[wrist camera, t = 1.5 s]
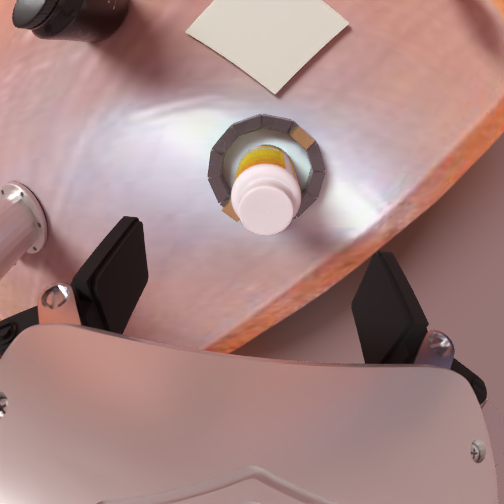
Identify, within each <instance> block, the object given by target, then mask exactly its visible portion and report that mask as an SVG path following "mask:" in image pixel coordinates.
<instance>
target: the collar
mask: <svg viewBox="0 0 504 504" xmlns="http://www.w3.org/2000/svg"><path fill="white" fill-rule="evenodd" d="M260 128H267V129H272V130H277V131H282V132H287V133H289V134H290V136H291V137H292V138H293V139H294V140H296V141H297V142H298V143H299V144H300V145H301V146H302V147H303V148H305V149H306V152H307V156H308V159H309V162H310V165H311V169H310V173H309V177H308V181H307V184H306V188H305V189H304V190H303V191H302V192H301V203H300V207H299V210H298V212H297V213H296V215H295V216H294V217H293V218H292V219H295V218H296V216H297V217H299V216H300V215H301V214H302V213H303V212H304V211H305V210H306V209H307V208H308V207H309V206H310V205H311V204H312V203H313V202H314V201H315V200H317V199H316V197H318V195H319V192H320V189H321V185H322V182H323V178H324V175H325V171H324V170H325V168H324V164H323V161H322V157H321V154H320V150H319V147H318V144H317V143H316V141H315V140H314V139H313V138H312V137H311V136H310V135H309V134H308V133H307V132H306V131H305V130H303V129H302V128H301V127H300V126H299V125H298V124H297V123H296V122H294V121H292V120H291V119H287V118H282V117H277V116H272V115H267V114H263V116H262V117H261V114H259V115H256V116H253V117H250V118H247V119H244V120H241V121H238V122H236V123H233V125H231V126H230V127H229V128H228V129H227V131H226V132H225V133H224V134H223V135H222V137H221V138H220V139H219V140H218V142H217V143H216V144H215V145H214V147H213V148H212V150H211V153H210V161H209V169H208V177H209V178H208V181H209V183H210V185H211V187H212V189H213V192H214V194H215V196H216V198H217V200H218V203H220V202H221V204H220V205H221V206H223V209H222V211H223V212H224V213H226V214H227V215H229V216H230V217H231V218H233V219H234V220H235V221H237V222H238V221H239V219H240V218H239V217H238V216H237V214H236V213H235V211H234V209H233V206H232V202H231V192H230V191H229V188H228V186H227V184H226V181H225V179H224V177H223V174H222V167H223V160H224V153H225V151H226V150H227V149H228V147H229V146H230V145H231V144H232V143H233V142H234V140H235V139H236V138H237V137H238V136H240V135H242V134H245V133H248V132H251V131H254V130H257V129H260Z"/></svg>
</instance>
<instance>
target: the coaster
mask: <svg viewBox="0 0 504 504" xmlns="http://www.w3.org/2000/svg"><path fill="white" fill-rule="evenodd" d="M348 24H349V23H348V22H347V21H346V20H345V19H344V18H343V17H342V16H340V15H339V14H338V13H337V12H336V11H334V10H333V9H332V8H331V7H329V6H328V5H327V4H326V3H324V2H323V1H322V0H214V1H213V2H212V3H211V4H210V5H209V6H208V7H207V8H206V10H205V11H204V12H203V13H202V14H201V15H200V16H199V17H198V18H197V19H196V20H195V21H194V23H193V24H192V25H191V26H190V27H189V28H188V29H187V31H186V32H185V33H187V34H189V35H190V36H192V37H194V38H195V39H197V40H199V41H200V42H202V43H204V44H205V45H207V46H208V47H210V48H211V49H213V50H214V51H216V52H217V53H219V54H220V55H222V56H223V57H225V58H226V59H228V60H229V61H231V62H232V63H234V64H235V65H236V66H238V67H239V68H241V69H242V70H243V71H245V72H246V73H247V74H249V75H250V76H251V77H253V78H254V79H255V80H257V81H258V82H259V83H261V84H262V85H263V86H264V87H266V88H267V89H268V90H269V91H271V92H272V93H273V94H274V95H275V94H276V93H277V92H278V91H279V90H280V89H281V88H282V87H283V86H284V85H285V84H286V83H287V82H288V81H289V80H290V79H291V78H292V77H293V76H294V75H295V74H296V73H297V72H298V71H299V70H300V69H301V68H302V67H303V66H304V65H305V64H306V63H307V62H308V61H309V60H310V59H311V58H312V57H313V56H314V55H315V54H316V53H317V52H318V51H319V50H320V49H321V48H323V47H324V46H325V45H326V44H327V43H328V42H329V41H330V40H331V39H332V38H333V37H335V36H336V35H337V34H338V33H339V32H340V31H341V30H343V29H344V28H345V27H346V26H347V25H348Z"/></svg>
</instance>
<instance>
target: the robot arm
mask: <svg viewBox="0 0 504 504" xmlns="http://www.w3.org/2000/svg"><path fill="white" fill-rule="evenodd" d="M46 240H47V224H46V220H45V216H44V213H43V211H42V208H41V206H40V204H39V202H38V201H37V199H36V198H35V196H34V195H33V194H32V192H31V191H30V190H29V189H28V188H26V187H25V186H24V185H22V184H21V183H18V182H9V183H7V184H5V185H4V186H2V187H1V188H0V280H1V279H2V278H3V277H4V275H5V274H6V273H7V272H8V271H9V270H10V269H11V267H12V266H13V265H16V263H17V261H18V260H19V259H20V258H21V256H22V255H23V254H24V253H29V254H34V253H37V252H38V251H40V250H41V249H42V248H43V246H44V245H45V243H46ZM147 281H148V268H147V260H146V251H145V242H144V232H143V223H142V222H141V221H139V219H138V218H137V217H129V216H124V217H123V218H122V219H121V220H120V221H119V222H118V223H117V224H116V226H115V227H114V228H113V229H112V230H111V231H110V233H109V234H108V235H107V236H106V237H105V238H104V240H103V241H102V242H101V243H100V244H99V246H98V247H97V248H96V249H95V251H94V252H93V253H92V254H91V256H90V257H89V258H88V259H87V261H86V262H85V263H84V264H83V266H82V267H81V268H80V270H79V271H78V272H77V274H76V275H75V276H74V278H73V281H72V283H71V284H70V285H68V284H66V283H54V284H51V285H49V286H47V287H46V288H45V289H43V291H42V292H41V293H40V295H39V297H38V302H37V303H38V306H35V307H33V308H30V309H28V310H25V311H23V312H20V313H18V314H16V315H13V316H11V317H8V318H6V319H4V320H2V321H0V504H498V491H497V480H496V479H497V478H496V471H495V467H496V466H497V464H498V462H499V460H500V459H501V457H502V455H503V454H504V417H503V415H502V414H501V412H500V411H499V410H498V408H497V407H496V406H495V404H494V403H493V402H492V401H491V400H490V398H488V399H487V400H486V396H487V391H486V387H485V384H484V382H483V381H482V380H481V379H480V378H479V377H478V376H477V375H475V374H474V373H473V372H471V371H470V370H469V369H468V368H466V367H465V366H464V365H462V364H461V363H460V362H458V361H457V360H456V359H454V353H455V349H454V345H453V343H452V341H451V339H450V338H449V337H448V336H447V335H446V334H444V333H443V332H441V331H438V330H430V331H427V328H426V327H427V326H428V324H429V323H428V321H427V319H426V317H425V315H424V313H423V310H422V308H421V306H420V304H419V302H418V300H417V298H416V296H415V294H414V292H413V290H412V288H411V286H410V285H409V282H408V281H407V279H406V277H405V275H404V273H403V271H402V269H401V268H400V266H399V264H398V262H397V260H396V259H395V257H394V255H393V254H392V253H391V252H384V251H378V252H377V254H374V255H373V257H372V259H371V261H370V263H369V266H368V268H367V271H366V273H365V275H364V277H363V280H362V282H361V284H360V286H359V288H358V290H357V293H356V295H355V297H354V299H353V301H352V312H353V316H354V319H355V324H356V327H357V331H358V335H359V340H360V343H361V348H362V352H363V356H364V360H365V364H344V363H319V362H303V361H289V360H276V359H266V358H257V357H248V356H239V355H231V354H224V353H217V352H211V351H204V350H198V349H192V348H186V347H180V346H175V345H170V344H164V343H159V342H154V341H150V340H145V339H140V338H136V337H131V336H126V335H122V334H123V332H124V330H125V327H126V325H127V323H128V321H129V319H130V317H131V314H132V312H133V310H134V308H135V306H136V304H137V302H138V300H139V298H140V296H141V294H142V292H143V290H144V288H145V286H146V284H147Z"/></svg>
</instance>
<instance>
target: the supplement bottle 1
mask: <svg viewBox="0 0 504 504" xmlns="http://www.w3.org/2000/svg"><path fill="white" fill-rule="evenodd" d="M127 10H128V2H127V0H17V2H16V4H15V7H14V9H13V14H12V15H13V16H12V19H13V24H14V25H15V27H17V28H26V29H29V30H32V32H33V34H34V35H35V36H37V37H38V38H40V39H49V40H70V41H82V42H97V41H100V40H103V39H105V38H107V37H109V36H110V35H111V34H113V33H114V32H115V31H116V30H117V29H118V28H119V27H120V25H121V24H122V22H123V21H124V19H125V17H126V14H127Z"/></svg>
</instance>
